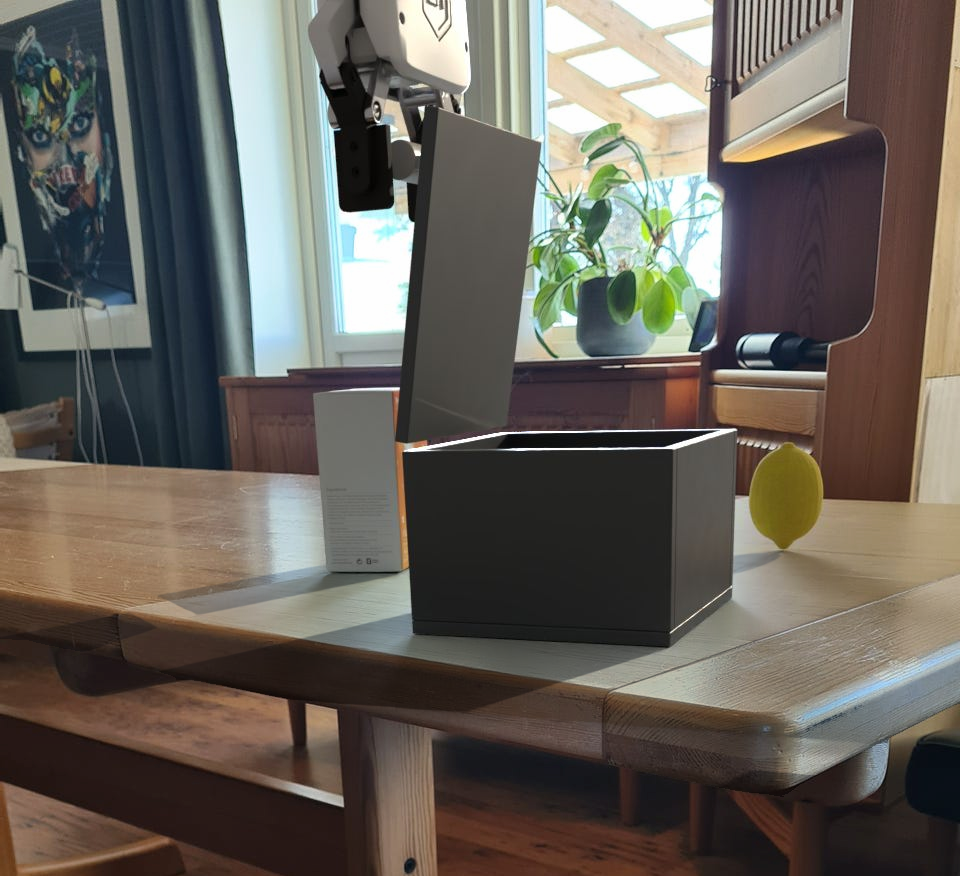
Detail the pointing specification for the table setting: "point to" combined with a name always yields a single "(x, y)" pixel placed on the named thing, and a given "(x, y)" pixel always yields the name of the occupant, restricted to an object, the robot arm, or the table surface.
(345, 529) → the small box
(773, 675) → the table surface
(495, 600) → the chest
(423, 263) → the lid
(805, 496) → the lemon
